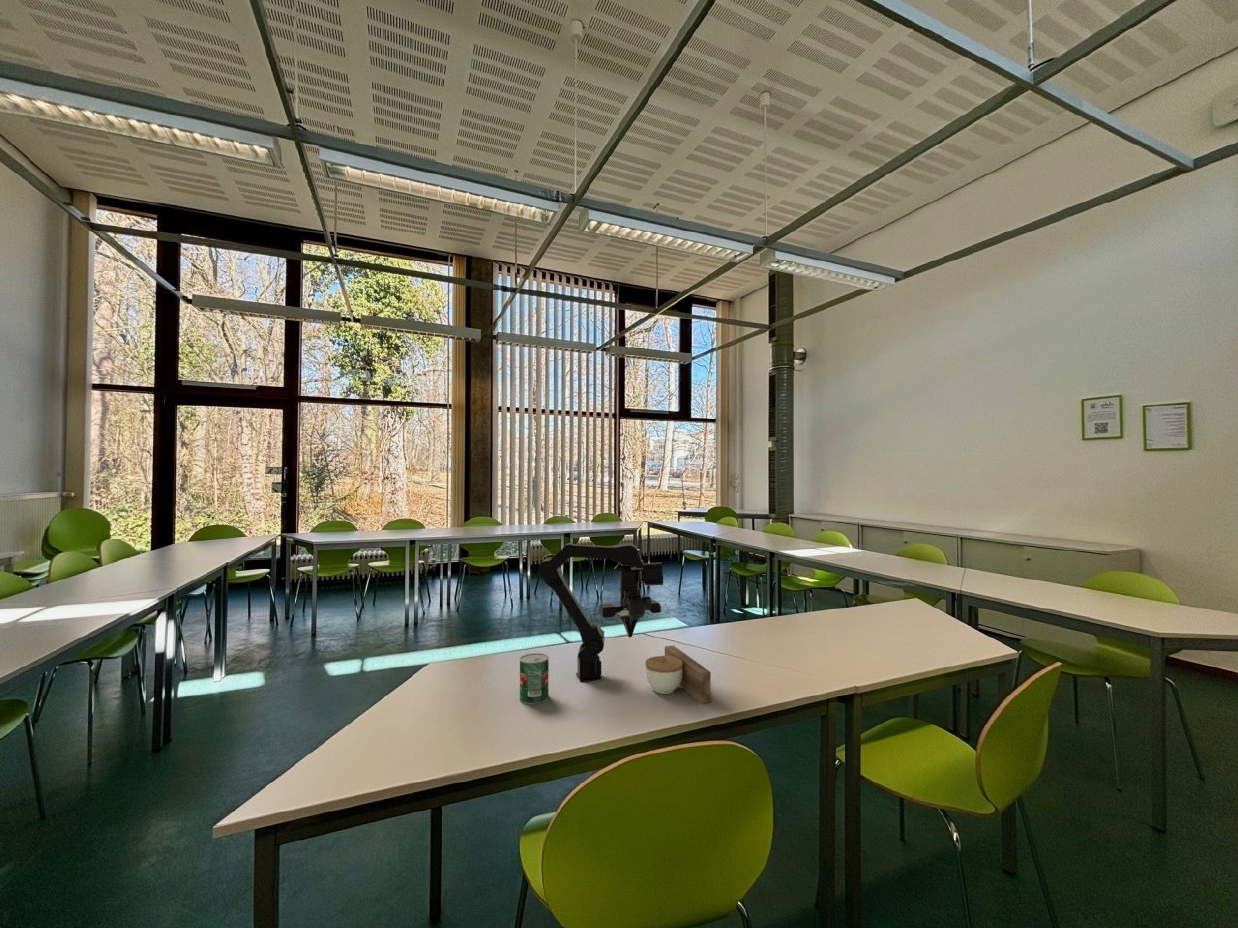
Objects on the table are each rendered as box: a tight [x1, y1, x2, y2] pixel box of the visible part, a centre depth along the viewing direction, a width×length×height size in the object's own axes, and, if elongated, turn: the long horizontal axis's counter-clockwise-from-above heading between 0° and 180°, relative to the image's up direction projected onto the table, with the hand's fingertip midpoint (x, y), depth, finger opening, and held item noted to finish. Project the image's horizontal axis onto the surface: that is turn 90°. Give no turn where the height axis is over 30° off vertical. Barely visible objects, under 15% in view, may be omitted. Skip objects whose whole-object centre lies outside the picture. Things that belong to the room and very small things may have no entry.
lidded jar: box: [644, 655, 683, 695], centre depth 143 cm, size 11×11×9 cm
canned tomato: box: [519, 652, 550, 705], centre depth 138 cm, size 8×8×11 cm
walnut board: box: [664, 645, 712, 705], centre depth 145 cm, size 3×24×8 cm, turn 18°
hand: (629, 636), depth 153 cm, fingers closed
